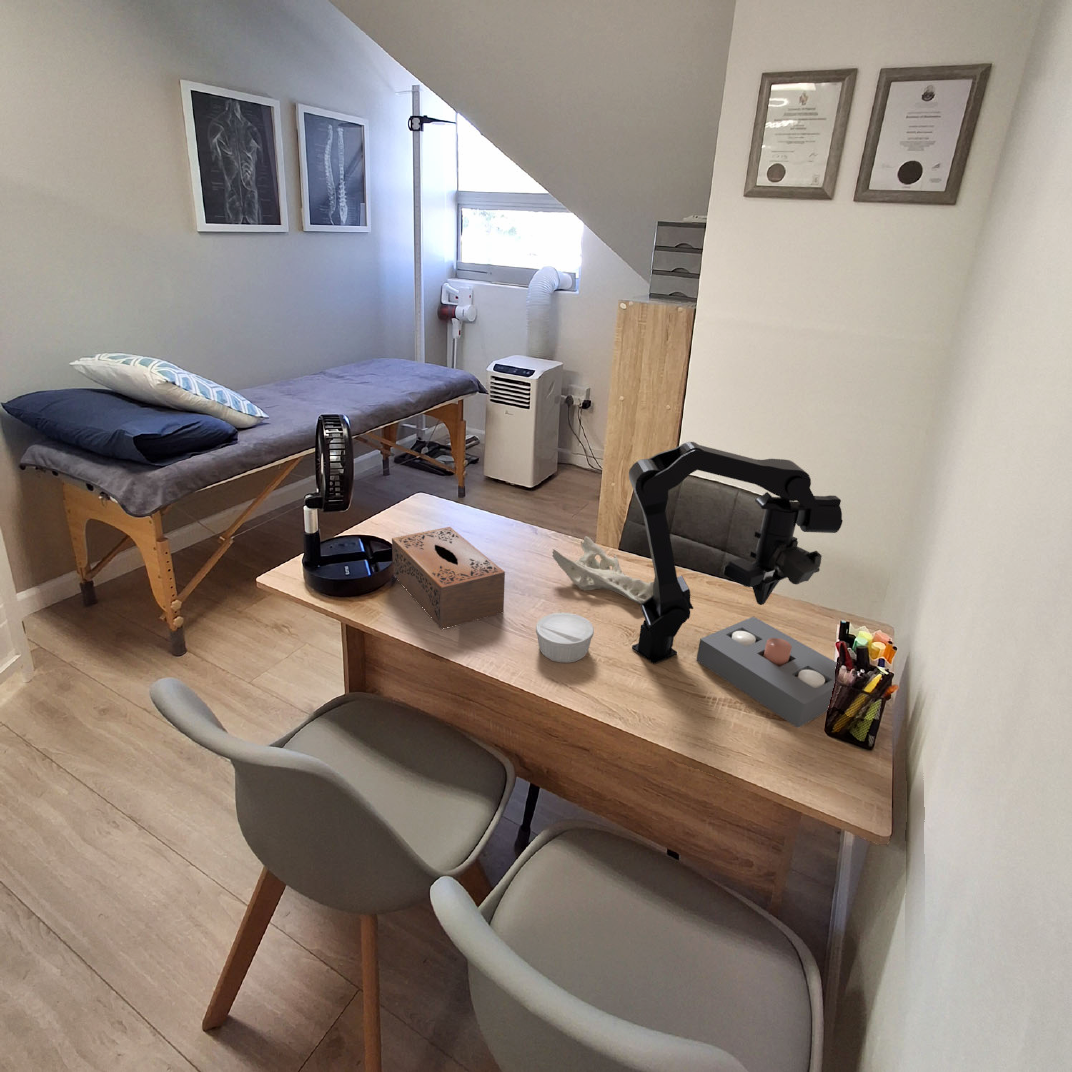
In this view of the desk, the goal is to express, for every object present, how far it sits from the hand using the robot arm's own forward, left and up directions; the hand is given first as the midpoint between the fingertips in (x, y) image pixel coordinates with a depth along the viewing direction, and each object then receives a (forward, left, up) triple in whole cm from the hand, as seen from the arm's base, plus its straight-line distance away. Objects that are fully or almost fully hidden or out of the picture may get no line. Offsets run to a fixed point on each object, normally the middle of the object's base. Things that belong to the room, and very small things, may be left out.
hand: (760, 603), depth 131 cm
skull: (-7, +35, -12) cm, 38 cm away
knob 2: (-3, -15, -11) cm, 19 cm away
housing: (-3, -8, -11) cm, 14 cm away
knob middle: (-3, -8, -8) cm, 12 cm away
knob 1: (-3, 0, -11) cm, 11 cm away
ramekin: (-31, +20, -12) cm, 39 cm away
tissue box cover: (-40, +51, -12) cm, 66 cm away
